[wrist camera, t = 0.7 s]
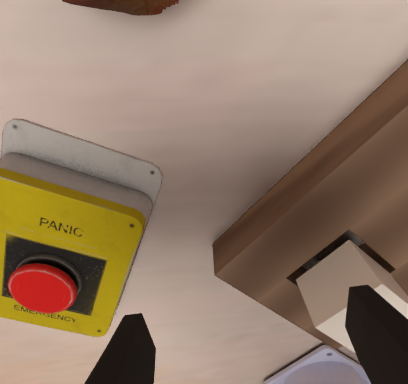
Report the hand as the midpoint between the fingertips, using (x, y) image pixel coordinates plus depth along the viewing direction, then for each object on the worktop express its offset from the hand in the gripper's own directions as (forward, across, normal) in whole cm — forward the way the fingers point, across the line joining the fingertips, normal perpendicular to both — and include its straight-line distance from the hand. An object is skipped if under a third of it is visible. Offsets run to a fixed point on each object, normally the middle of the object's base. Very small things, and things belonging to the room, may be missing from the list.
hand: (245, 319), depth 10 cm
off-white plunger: (+6, -6, +5) cm, 10 cm away
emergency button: (+10, +11, +2) cm, 15 cm away
